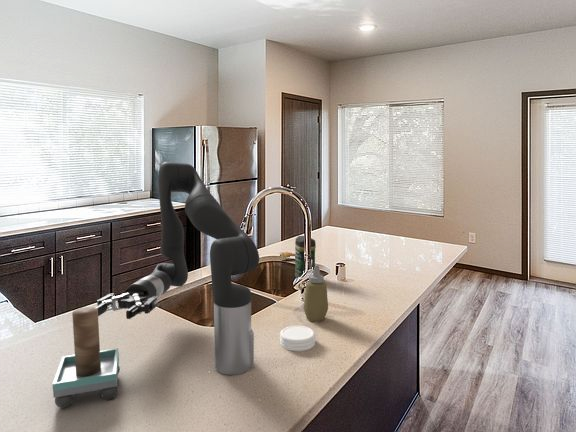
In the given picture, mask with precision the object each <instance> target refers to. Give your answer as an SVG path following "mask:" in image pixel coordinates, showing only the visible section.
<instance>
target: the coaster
mask: <svg viewBox="0 0 576 432" xmlns="http://www.w3.org/2000/svg"><path fill="white" fill-rule="evenodd" d="M279 335H280V337H279V338H280V340H279V343H280V346H281V347H282V348H284V349H285V350H287V351H292V352H305V351H309V350H311V349H313V348H314V347H315V345H316V333H315V330H313V329H312V328H310V327H308V326H305V325H304V326H303V325H290V326H287V327H284V328H283V329H281V330H280V333H279Z"/></svg>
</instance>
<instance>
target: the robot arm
mask: <svg viewBox="0 0 576 432" xmlns="http://www.w3.org/2000/svg"><path fill="white" fill-rule="evenodd" d="M157 184H158V187H157V188H158V197H159V207H160V209H159V210H160V218H161V220H160V221H161V237H160V238H161V241H160V242H161V243H160V253H161V255H162V256H163V257H166V258H167V259H170V260H171V261H172V263H167V262H160V263H159V264H157V265H156V266H155V268H154V269H153V271H152V273H150V274H149V275H146V276H144V277H142V278H140V279H138V280H137V281H135V282H134V283H132V284H130V285H128V286H127V288H126V289H125V290H124V293H121V294H120V295H116V296H115V293H114V292H112V293H108V294H106V295H105V296H103V297H101V298H99V299H97V300H96V302H97V303H96V305H97V306H95V308H97V309H98V317H100V316H101V315H103V314H105V313H106V312H108V311H111V310H112V311H114V312H116V311H119V310H123V309H124V310H126V309H127V310H126V311H125V314H126V315H125V316H126V320H131V319H132V318H134V317H135V316H137V315H140V314H142V313H144V314H150V313H151V312H152V311H153V310H154V309H156V307H157V306H158V300H159V298H160V297H161V296H162V295H164V294H165V293H166V292H167V291H169V290H170V288H171V287H176V288H177V287H182V286H185V284H187V281H188V278H189V277H188V276H189V272H188V271H189V270H188V266H187V262H186V257H185V253H184V245H185V229H184V226H183V223H182V220H180V218H179V216H178V214H177V212H176V210H175V208H174V205H173V201H172V193H174V192H175V193H185V194H188V197H187V198H186V200H185V205H184V211H185V215H186V217H187V218H188V219H189V221H190V222H191V224H192V226H193V227H194V228H196V230H197V231H199V232H201V233H203V234H205V235H206V236H208V237H210V238H213V239H214V240H213V242H212V243H211V244H210V245H211V246H210V249H209V263H210V264H209V265H210V273H211V275H210V276H211V288H212V295H213V328H214V329H213V331H214V332H213V333H214V368H215V370H216V371H217V372H218V373H220V374H223V375H227V376H228V375H230V376H233V375H240V374H243V373H246V372H247V371H249V370H251V369H254V368H255V351H254V350H255V342H254V341H255V339H254V338H255V336H254V331H253V329H252V292H251V290H250V288H249V287H248V286H245V285H242V284H238V283H233V282H232V276H237V275H242V274H247V273H250V272H252V271H254V270H255V269H257V267H258V266H259V263H260V253H259V250H258V248H257V246H256V243H255V242H254V240H253V239H252V238H251V237H250V236H249V235H248V234H247V233H246V232H245V231H244V230H243V229H242V228H241V227H240V226H238V224H237V223H236V222H235V221H234V220H233V219H232V218H231V217H230V216H229V215H228V214H227V212H226V210H224V208H223V207H222V206H221V204H220V203H219V201H218V200H217V199H216V198H215V197H214V195H212V194H211V192H210V191H209V189H208V188H207V187H206V185H205V183H204V182H203V180H202V179H201V176H200V175H199V173H198V171H197V170H196V169H195V167H194V166H193V165H192V164H189V163H185V162H171V161H165V162H162V163H161V165H160V166H159V168H158V175H157ZM116 302H117V303H116ZM116 304H117V305H116Z"/></svg>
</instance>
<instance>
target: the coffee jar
mask: <svg viewBox="0 0 576 432" xmlns="http://www.w3.org/2000/svg"><path fill="white" fill-rule="evenodd" d="M304 236H305V235H298V236H297V237H296V238H295V241H294V243H295V244H294V245H295V247H294V248H295V249H294V250H295V253H294V254H295V260H294V261H295V262H294V265H295V266H294V276H295V278H296V279H297V278H298V277H300V276H301V275H302V274H303V271H304ZM310 238H311V237H310ZM316 245H317V244H316V240H315V239H314V238H311V260H312V267H313V270H314V267H315V265H316Z"/></svg>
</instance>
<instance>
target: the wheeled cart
mask: <svg viewBox="0 0 576 432" xmlns="http://www.w3.org/2000/svg"><path fill="white" fill-rule="evenodd" d="M119 353H120V352H119V348H112V349H111V348H110V349H105V350H100V362H101V370H100V371H99V372H98V373H96V374H94V375H91V376H86V377H81V376H78V375H76V365H75V354H71V355H65V356H62V357H61V360H60V362H59V365H58V367H57V371H56V372H55V376H54V379H53V381H52V394H53V398H54V404H55V405H56V407H58V408H60V409H65V408H68V407H69V406H71V405H72V403H73V402H74V398H75V397H74V395H77V394H81V393H82V394H83V393H86V392H93V391H99V390H100V395H101V397H102V399H104V400H112V399H114V398H116V396H117V395H118V392H119V386H118V378H119V377H118V376H119V373H120V369H121V368H120V363H119V362H120V356H119V355H120V354H119Z"/></svg>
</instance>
